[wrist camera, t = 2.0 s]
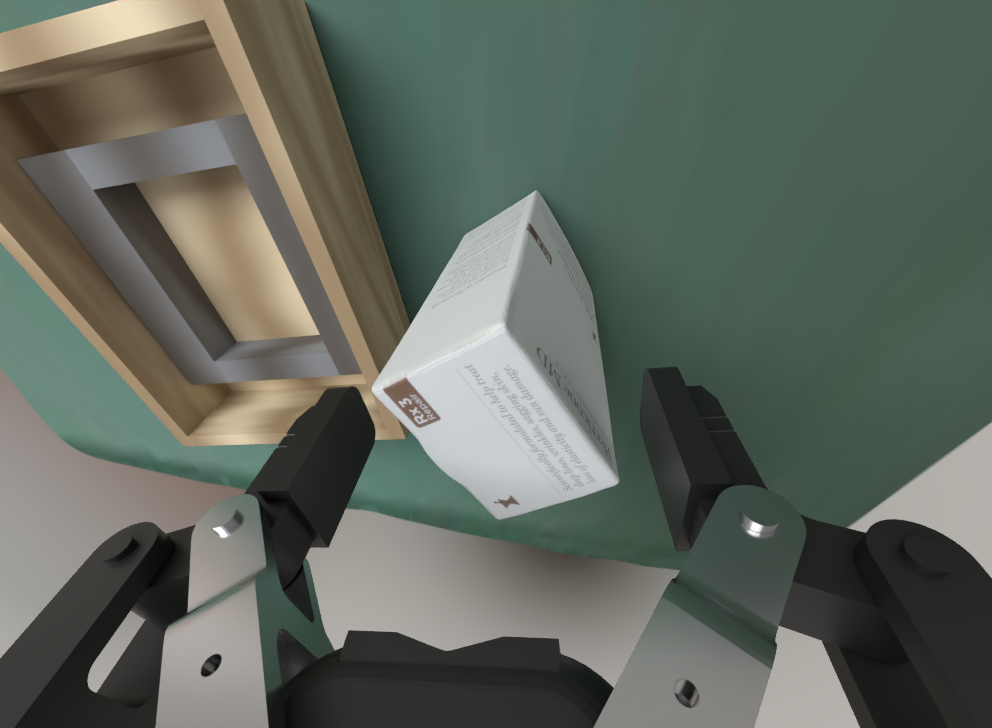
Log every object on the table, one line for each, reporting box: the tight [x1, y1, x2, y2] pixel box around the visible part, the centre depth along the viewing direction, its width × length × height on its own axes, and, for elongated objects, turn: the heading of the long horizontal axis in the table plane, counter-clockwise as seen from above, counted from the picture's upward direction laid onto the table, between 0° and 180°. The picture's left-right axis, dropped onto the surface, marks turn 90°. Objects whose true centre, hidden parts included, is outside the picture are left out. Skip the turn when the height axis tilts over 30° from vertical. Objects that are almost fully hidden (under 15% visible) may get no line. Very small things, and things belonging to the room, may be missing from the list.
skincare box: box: [372, 190, 620, 520], centre depth 15 cm, size 6×4×12 cm
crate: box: [0, 0, 410, 446], centre depth 19 cm, size 14×18×5 cm
